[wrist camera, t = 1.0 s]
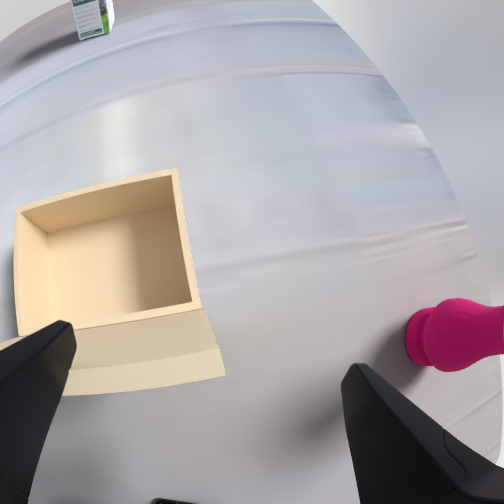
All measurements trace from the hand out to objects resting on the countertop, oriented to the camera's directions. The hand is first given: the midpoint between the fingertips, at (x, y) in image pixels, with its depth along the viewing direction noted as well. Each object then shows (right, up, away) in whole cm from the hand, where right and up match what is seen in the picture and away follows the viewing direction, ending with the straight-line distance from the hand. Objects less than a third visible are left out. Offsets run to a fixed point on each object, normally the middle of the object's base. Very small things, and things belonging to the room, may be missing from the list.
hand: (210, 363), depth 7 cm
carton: (-11, +1, +15) cm, 19 cm away
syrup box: (-25, +41, +24) cm, 54 cm away
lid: (-8, -1, +3) cm, 8 cm away
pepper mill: (+20, -6, +18) cm, 28 cm away
